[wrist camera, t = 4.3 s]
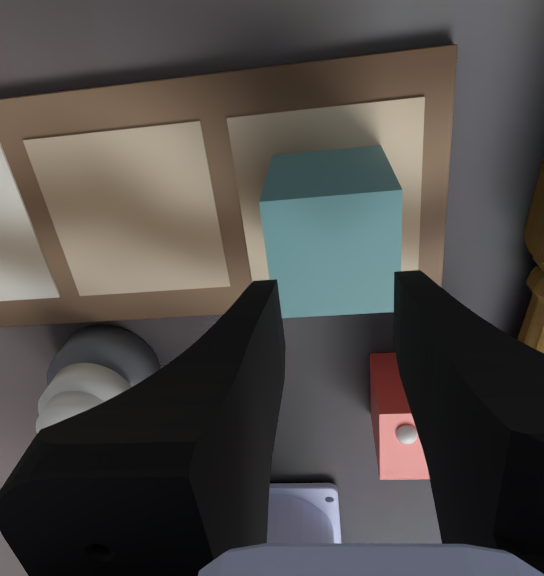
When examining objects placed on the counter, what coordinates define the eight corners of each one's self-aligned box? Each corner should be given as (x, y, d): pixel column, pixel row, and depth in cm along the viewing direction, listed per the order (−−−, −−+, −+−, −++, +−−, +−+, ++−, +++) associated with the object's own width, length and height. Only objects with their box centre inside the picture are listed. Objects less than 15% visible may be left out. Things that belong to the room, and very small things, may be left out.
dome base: (169, 399, 26) (160, 425, 24) (81, 402, 26) (66, 427, 25) (146, 322, 23) (134, 344, 22) (49, 327, 24) (31, 349, 22)
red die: (450, 412, 24) (475, 487, 21) (370, 414, 25) (381, 488, 21) (456, 349, 23) (485, 419, 19) (369, 353, 23) (380, 422, 19)
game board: (437, 296, 21) (440, 303, 21) (-74, 326, 24) (-83, 333, 24) (453, 43, 16) (458, 44, 16) (-191, 121, 19) (-205, 124, 19)
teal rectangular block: (381, 244, 19) (400, 311, 15) (283, 251, 20) (274, 318, 16) (380, 145, 18) (402, 189, 13) (272, 155, 18) (258, 202, 14)
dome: (145, 425, 23) (129, 465, 21) (68, 427, 24) (45, 467, 22) (123, 360, 21) (103, 398, 19) (40, 364, 22) (11, 401, 20)
